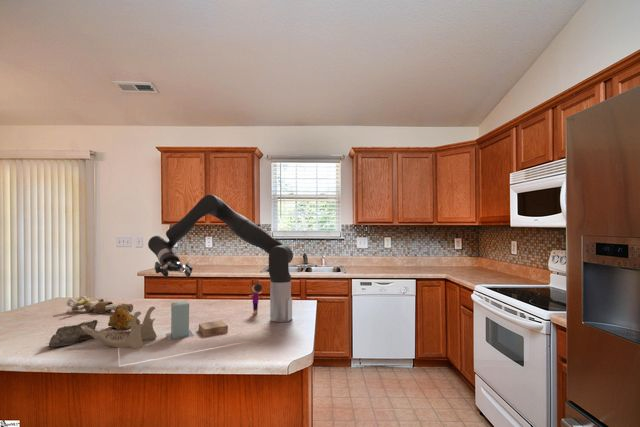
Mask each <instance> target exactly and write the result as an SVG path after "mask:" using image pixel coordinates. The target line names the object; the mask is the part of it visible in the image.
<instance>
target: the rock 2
mask: <svg viewBox="0 0 640 427" xmlns="http://www.w3.org/2000/svg"><path fill="white" fill-rule="evenodd" d="M133 315H134V314H132V313H130V312H129V311H128V312H127V311H126V310H124V309H123V308H119V309H117V310H116V311H113V312H112V313H111V315H110V316H109V321H108V323H107V326H109V327H111V328H113V329H114V328H115V329H117V331H120V330H121V331H122V330H131V322H132V318H133ZM136 323H137V325H139V324H141V320H140V318H138V317H137V319H136Z"/></svg>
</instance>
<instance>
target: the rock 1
mask: <svg viewBox="0 0 640 427" xmlns="http://www.w3.org/2000/svg"><path fill="white" fill-rule="evenodd" d="M84 325H85V326H86V325H87V327H88V328H92V329H94V330H96V327H97V325H98V320H97V319H94V320H91V321H85V322H80V323H78V324H74V325H73V324H72V325H66V326H62V327H59V328H57V330H56V332H55V333H54V334H53V335H52V336H51V338H50V339H49V340H50V341H49V342H48V347H49V348H54V347H63V346H65V347H66V346H71V345H74V344H75V343H77V342H79V341H84V340H88V339H92V338H93V337H92V336H90V335H88V334H86V333H85V332H84V331H83V330H82V329H81V326H82V327H83V326H84Z"/></svg>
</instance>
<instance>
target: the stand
mask: <svg viewBox="0 0 640 427" xmlns="http://www.w3.org/2000/svg"><path fill="white" fill-rule="evenodd" d="M228 328H229V326H228V324H226V323H225V322H224V321H223V320H222V319H221V320H214V321H205V322H202V323H201V322H200V323H198V331H199V332H200V333H201V335H202V336H203V337H208V336H214V335H220V334H227V333H228V332H229V329H228Z"/></svg>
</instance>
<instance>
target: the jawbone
mask: <svg viewBox="0 0 640 427" xmlns="http://www.w3.org/2000/svg"><path fill="white" fill-rule="evenodd" d="M155 309H156V307H155V306H150V307H149V308H148V310H147V311H146V313H145V315H144V318H143V320H142V322H141V323H140V324H139V325H137V323H136V319H137V318H138V317H139V316H141V314H142V312H141V311H136V312H135V313H134V314H132V315H133V318H132V322H131V328H130V330H121V331H120V330H114V329H110V330H104V331H102V330H101V331H99V330H96V329H95V330H94V329H92V328H88V327H87V325H86V326H85V325H84V326H83V327H82V326H81V329H82V330H83V331H84V332H85V333H86V334H88V335H90V336H92V338H95V339H96V340H98V341H100V342H101V343H103V344H104V345H106V346H108V347H112V348H118V349H119V348H132V349H136V350H137V349H141V348H142V346H143V344H144V342H143V341H149V340H151V341H152V340H156V339H157V337H158V336H157V333H156V332H155V329H154V325H153V324H154V322H155V320H156V318H155V317H154V318H152V319H151V314H152V312H153V311H154V310H155Z"/></svg>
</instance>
